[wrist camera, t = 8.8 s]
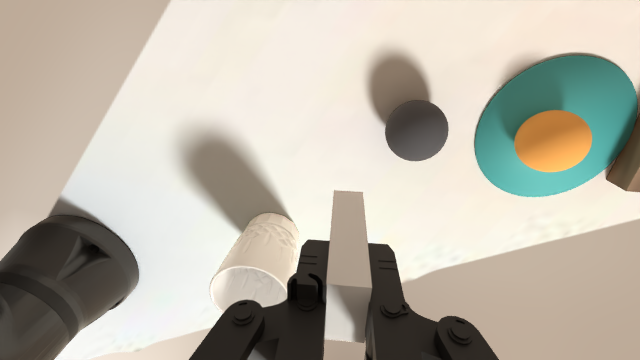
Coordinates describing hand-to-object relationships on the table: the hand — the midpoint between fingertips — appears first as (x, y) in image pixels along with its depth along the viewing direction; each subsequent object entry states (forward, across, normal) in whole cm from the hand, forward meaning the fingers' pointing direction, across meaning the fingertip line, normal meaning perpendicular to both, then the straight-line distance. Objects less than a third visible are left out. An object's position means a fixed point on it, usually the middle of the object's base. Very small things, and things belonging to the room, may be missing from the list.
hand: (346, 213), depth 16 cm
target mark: (+16, +20, 0) cm, 26 cm away
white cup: (+17, -8, -14) cm, 24 cm away
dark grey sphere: (+14, +6, +1) cm, 15 cm away
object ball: (+14, +18, 0) cm, 23 cm away
